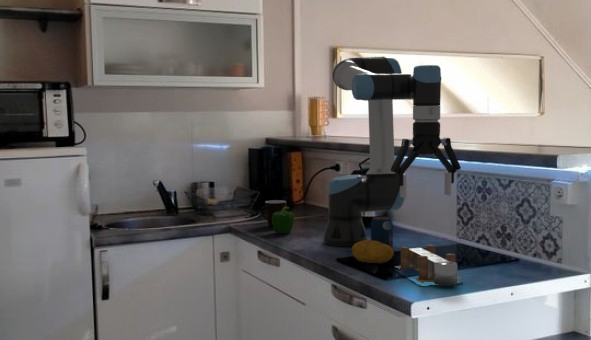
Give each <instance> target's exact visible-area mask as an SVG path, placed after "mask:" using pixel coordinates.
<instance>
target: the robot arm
mask: <svg viewBox="0 0 591 340" xmlns="http://www.w3.org/2000/svg"><path fill="white" fill-rule="evenodd" d="M441 71H442V70H441V67H440V66H439V65H436V64H435V65H434V64H425V65H421V64H420V65H415V66H414V67H413V72H412V73H402V68H401V65H400V63H399V61H398V60H397V59H396V58H395V57H392V56H389V57H388V56H352V57H348V58H345V59H343V60H341V61H340V62H338V63H337V64H336V65H335V67H333V71H332V80H333V83H334V85H336V86H337V88H339V89H341V90H344V91H351V94H352V97H353V99H354V100H357V101H363V102H364V101H366V102H367V104H368V107H367V109H368V135H369V136H368V137H369V138H368V139H369V140H368V141H369V144H368V145H369V166H370V167H369V169H368V171H367V172H366V173H365V177H366V178H363V177H362V175H361V174H349V175H348V174H346V175H340V176H336V177H334V178H331V179H330V180H329V181H328V186H327V196H328V200H327V201H328V202H327V203H328V221H327V225H326V228H325V232H324V234H323V243H324V244H326V245H329V246H333V247H353V245H354V244H356V243H358V242H360V241H363V240H368V235H367V232H366V228H365V225H364V222H363V213H366V212H367V213H369V212H371V213H372V212H390V211H393V212H394V211H398V210H400V209H401V208H402V206H403V205H404V202H405V199H406V198H407V174H405V173H406V171H407V170H408V169H409V168H410V166H411V165H413V164H412V163H413V162H415V160H416V158H417V157H418V156H420V155H423V156H425V155H434V156H435V157H436V158H437V159H438V161H439V162H440V163H441V164H442V166H444V168H445V170H447V171H444V191H443V192H444V196H445V195H446V196H447V197H448V196H452V184H454V182H455V173H456V172H457V171H459V170H461V168H462V167H461V164H460V163H459V160H458V158H457V156H456V153H455V151H454V149H453V147H452V141H451V140H452V139H451V138H450V137H442V138H441V137H440V136H441V135H440V134H441V123H440V122H439V120H441V97H442V96H441V95H442V93H441V90H442V72H441ZM397 100H399V101H400V100H401V101H402V100H412V120H414V122H413V123H412V138H411V139H408V138H402V139H401V146H400V148H399V150H398V152H397V154H396V157H395V135H394V131H395V130H394V108H393V107H394V106H393V105H394V102H393V101H397ZM411 145H412V146H413V148H412V149H411V151H410V152H409V154H408V155H407V157H406V154H407V152H408V150H409V147H411ZM440 145H442V146H443V148H444V151H445V153H446V155H447V156H445V155H444V153H443V152H442V150H441V149H440ZM405 157H406V158H405ZM447 157H448V158H447Z"/></svg>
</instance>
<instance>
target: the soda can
mask: <svg viewBox="0 0 591 340" xmlns="http://www.w3.org/2000/svg"><path fill="white" fill-rule="evenodd" d="M393 223H394V222H393V220H392V217H390V216H384V215H383V216H382V215H379V216H374V217H372V220H371V221H370V241H371V240H373V241H378V242H380V243H383V244H386V245H389V246H390V247H391V248H392V249H393V250H394V234H393V233H394V225H393Z"/></svg>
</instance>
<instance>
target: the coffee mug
mask: <svg viewBox="0 0 591 340" xmlns="http://www.w3.org/2000/svg"><path fill="white" fill-rule="evenodd" d="M264 204H265V206H262V207H261V209H260V214H261V217H262V218H264V219H265V220H267V225H268V228H272V229H274V227H273V223H272V215H273V213H275V212H281V213H282V209H283V208H284V207H287V201H286V200H284V199H283V200H281V199H280V200H279V199H278V200H277V199H274V200H273V199H272V200H265V202H264ZM264 209H266V210H265V211H266V216H265V215H264V214H263V210H264ZM286 210H287V209H285V211H286ZM285 211H284V212H285Z"/></svg>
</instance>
